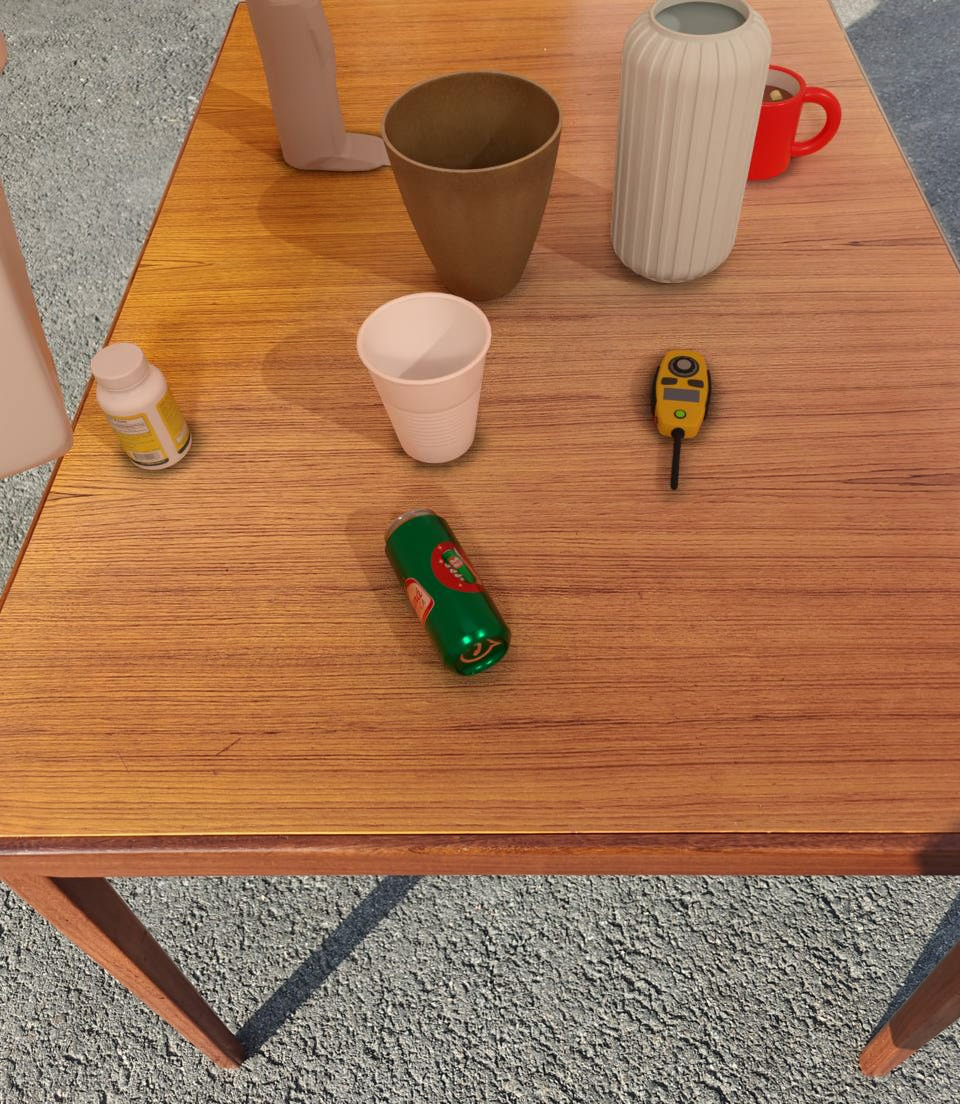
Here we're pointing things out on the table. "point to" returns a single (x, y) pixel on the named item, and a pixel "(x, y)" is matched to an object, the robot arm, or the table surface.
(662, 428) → the yellow walkie talkie
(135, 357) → the supplement bottle
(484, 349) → the cup
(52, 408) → the robot arm
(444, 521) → the soda can
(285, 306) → the table surface
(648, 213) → the vase
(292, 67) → the pink piece
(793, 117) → the mug
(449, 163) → the plant pot
